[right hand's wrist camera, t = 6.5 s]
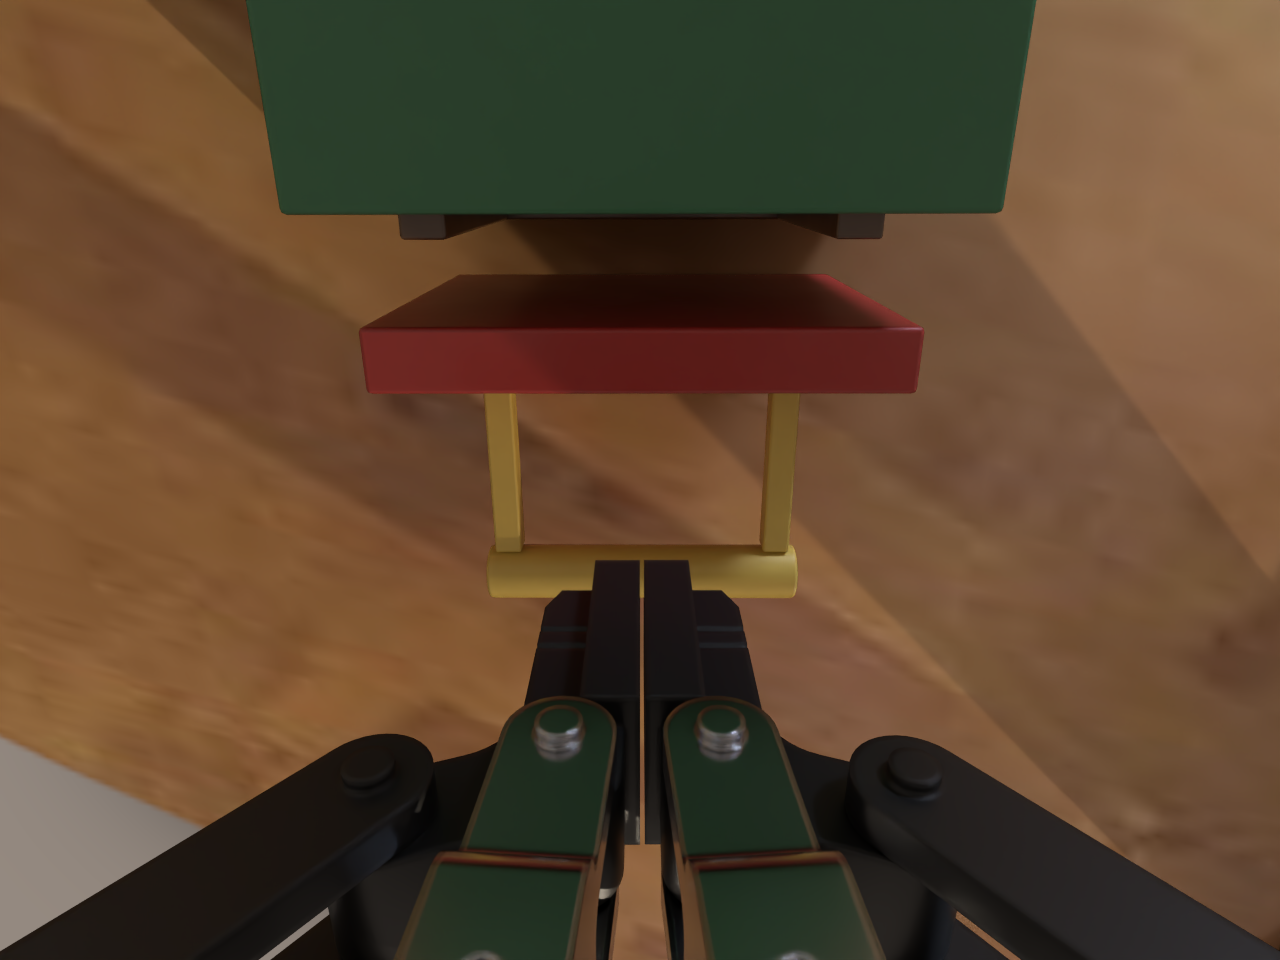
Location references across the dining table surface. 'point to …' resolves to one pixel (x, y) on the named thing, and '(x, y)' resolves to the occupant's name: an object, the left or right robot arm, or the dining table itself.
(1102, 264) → the dining table surface
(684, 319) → the drawer
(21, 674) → the dining table surface
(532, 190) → the cabinet
